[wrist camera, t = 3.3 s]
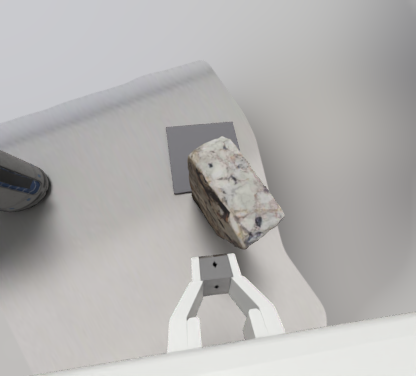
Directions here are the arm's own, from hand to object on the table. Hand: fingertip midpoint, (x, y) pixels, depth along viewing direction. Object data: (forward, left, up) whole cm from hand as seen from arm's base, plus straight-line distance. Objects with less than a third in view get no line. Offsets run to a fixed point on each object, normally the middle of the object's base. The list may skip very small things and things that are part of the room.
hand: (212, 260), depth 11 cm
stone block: (+8, -4, -25) cm, 26 cm away
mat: (+21, -5, -25) cm, 33 cm away
